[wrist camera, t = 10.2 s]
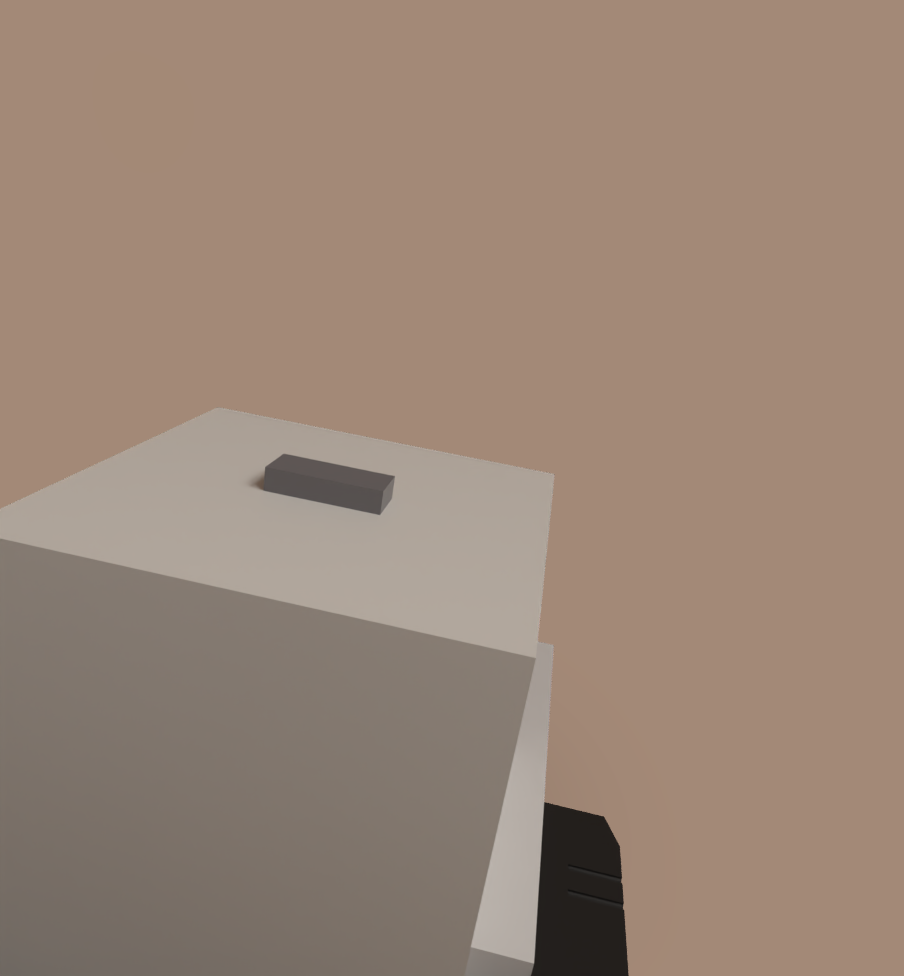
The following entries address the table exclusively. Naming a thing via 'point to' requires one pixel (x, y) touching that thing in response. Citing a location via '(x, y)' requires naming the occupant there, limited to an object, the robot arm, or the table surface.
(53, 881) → the block
